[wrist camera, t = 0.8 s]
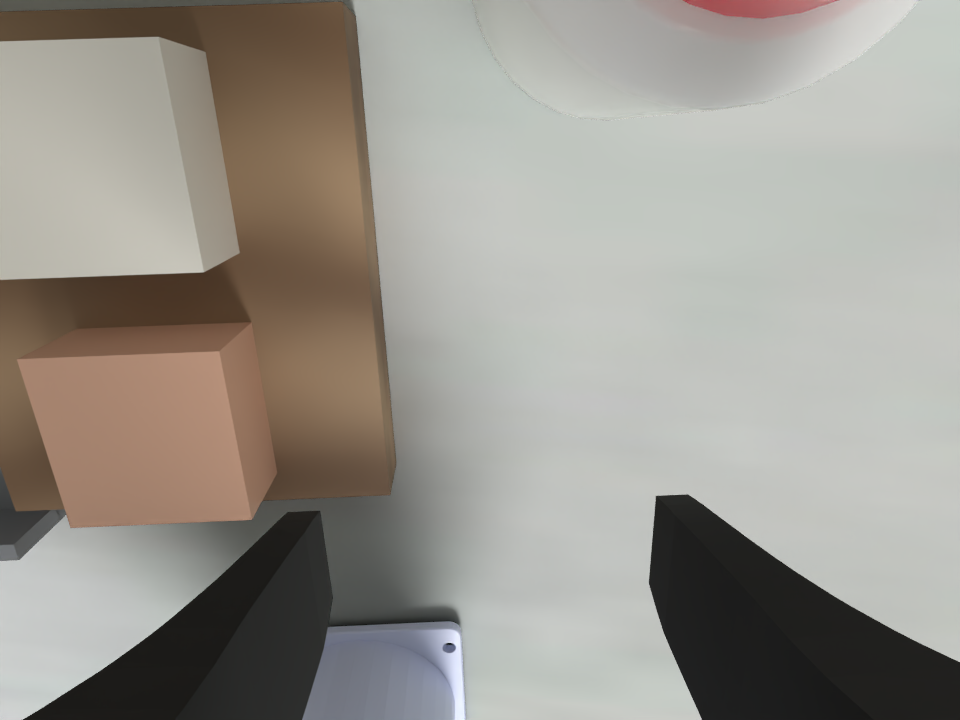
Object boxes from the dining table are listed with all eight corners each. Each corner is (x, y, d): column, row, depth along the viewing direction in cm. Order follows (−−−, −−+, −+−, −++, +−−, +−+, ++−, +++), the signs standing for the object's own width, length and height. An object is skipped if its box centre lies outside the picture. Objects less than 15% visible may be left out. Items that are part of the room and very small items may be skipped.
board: (396, 463, 21) (390, 494, 20) (55, 478, 21) (15, 511, 19) (355, 16, 17) (342, 1, 15) (-89, 29, 16) (-160, 16, 14)
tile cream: (239, 252, 17) (203, 272, 14) (57, 259, 17) (-9, 280, 14) (205, 51, 15) (158, 36, 13) (1, 58, 15) (-85, 43, 13)
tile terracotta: (277, 472, 19) (251, 519, 17) (118, 479, 19) (70, 527, 17) (251, 321, 17) (219, 351, 15) (76, 329, 17) (16, 359, 15)
